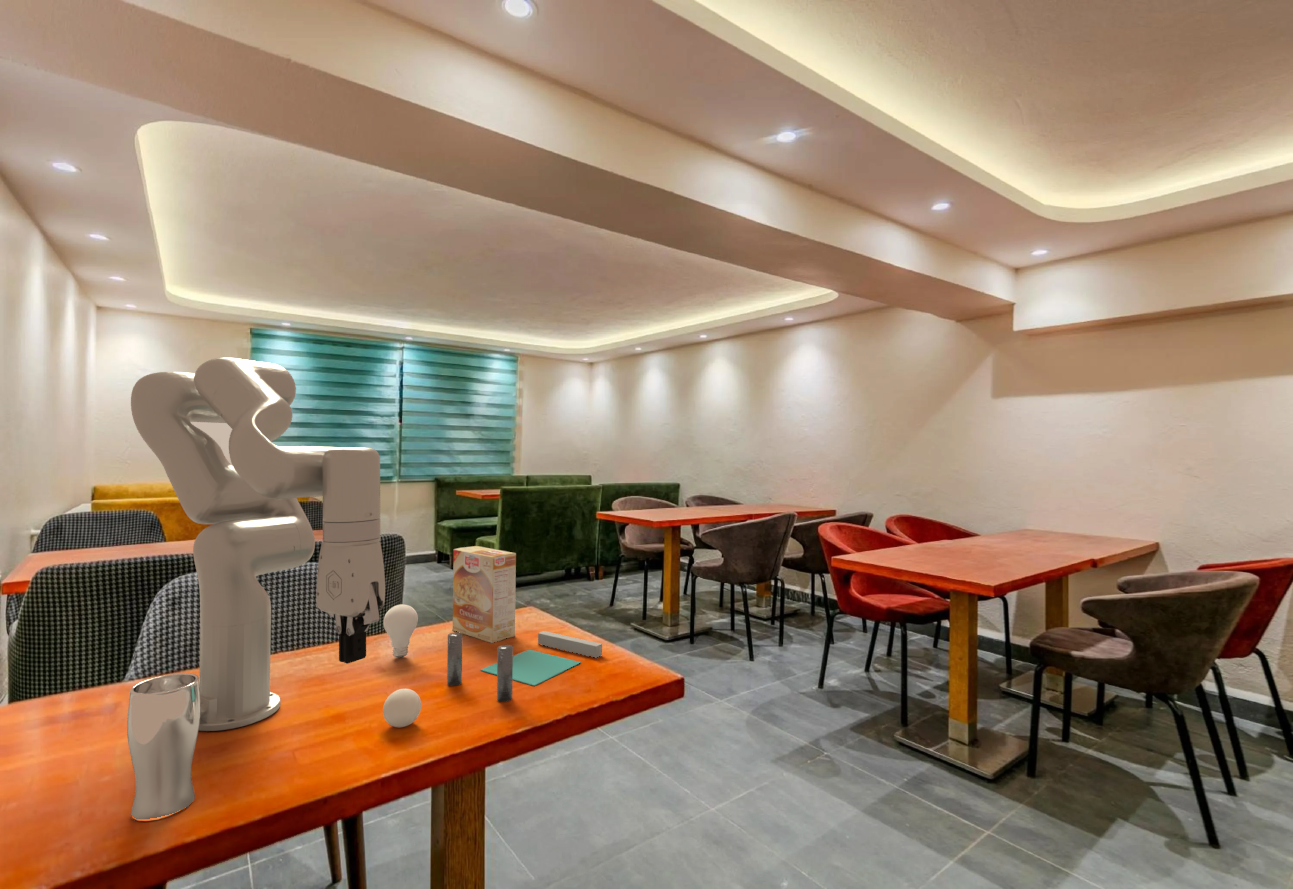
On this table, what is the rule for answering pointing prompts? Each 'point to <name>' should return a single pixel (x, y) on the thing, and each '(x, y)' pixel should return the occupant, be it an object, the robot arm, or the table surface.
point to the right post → (504, 673)
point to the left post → (454, 659)
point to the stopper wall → (570, 644)
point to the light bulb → (400, 627)
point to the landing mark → (535, 667)
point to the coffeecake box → (484, 593)
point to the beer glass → (163, 742)
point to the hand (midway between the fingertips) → (352, 659)
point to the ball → (402, 708)
